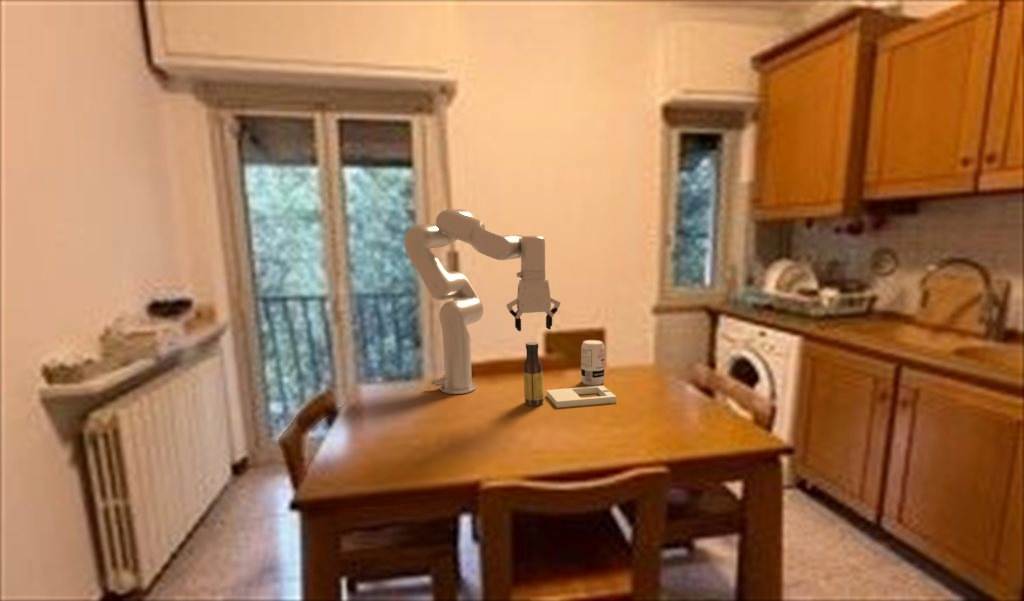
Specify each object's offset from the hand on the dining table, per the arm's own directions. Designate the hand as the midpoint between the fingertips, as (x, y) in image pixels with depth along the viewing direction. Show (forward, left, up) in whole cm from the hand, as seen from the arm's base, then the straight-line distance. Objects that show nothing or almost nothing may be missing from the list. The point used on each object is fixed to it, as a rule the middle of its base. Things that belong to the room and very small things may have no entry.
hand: (533, 329), depth 179 cm
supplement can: (+26, +16, -25) cm, 39 cm away
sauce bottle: (0, 0, -25) cm, 25 cm away
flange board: (+16, 0, -24) cm, 29 cm away
